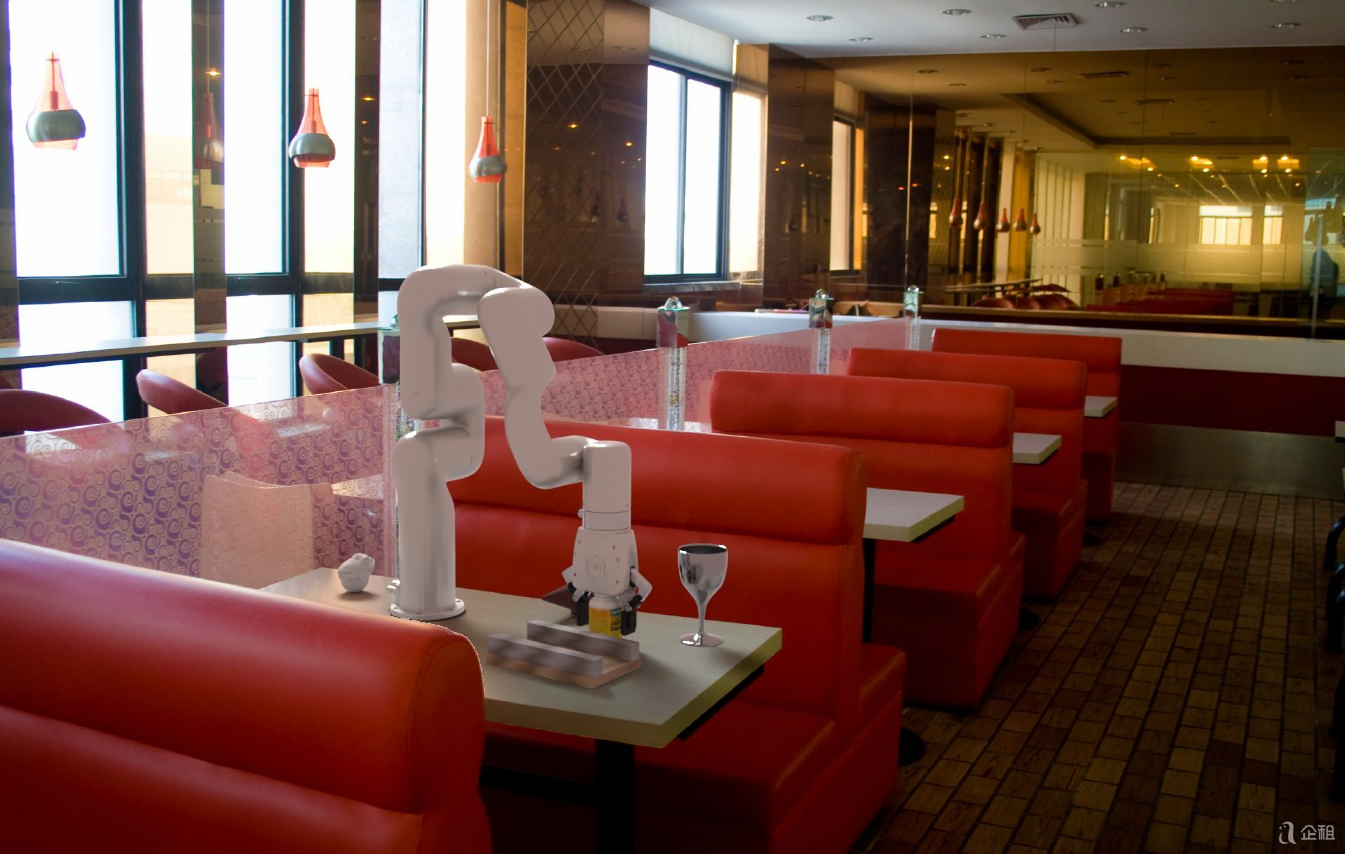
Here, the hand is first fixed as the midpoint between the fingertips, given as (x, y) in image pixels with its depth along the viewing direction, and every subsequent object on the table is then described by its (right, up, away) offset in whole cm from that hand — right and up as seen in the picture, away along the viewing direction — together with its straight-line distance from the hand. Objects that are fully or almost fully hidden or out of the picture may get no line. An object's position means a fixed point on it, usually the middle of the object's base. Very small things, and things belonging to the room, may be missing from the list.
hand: (605, 628), depth 189 cm
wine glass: (+15, -3, +3) cm, 16 cm away
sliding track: (-6, -4, -10) cm, 12 cm away
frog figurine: (-47, +1, +30) cm, 56 cm away
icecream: (-5, -1, +18) cm, 18 cm away
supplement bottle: (0, -3, 0) cm, 3 cm away
